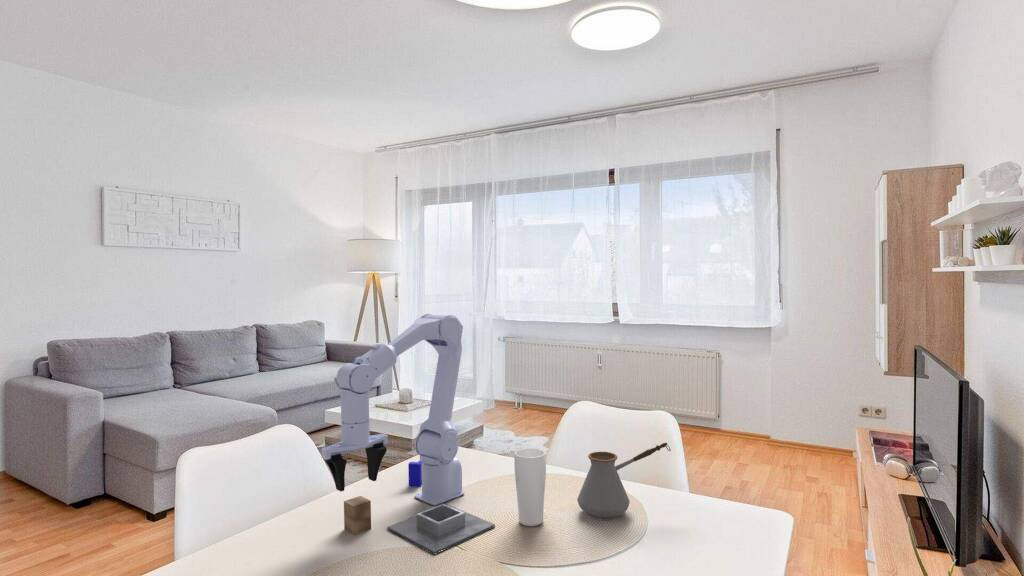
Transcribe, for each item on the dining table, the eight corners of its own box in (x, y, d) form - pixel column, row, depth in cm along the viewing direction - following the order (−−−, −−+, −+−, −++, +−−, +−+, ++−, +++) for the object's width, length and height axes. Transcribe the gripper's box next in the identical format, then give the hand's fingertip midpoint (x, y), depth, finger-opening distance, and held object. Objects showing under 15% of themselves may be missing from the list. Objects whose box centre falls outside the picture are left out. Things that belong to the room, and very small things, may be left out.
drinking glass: (551, 518, 121) (550, 449, 121) (539, 531, 115) (538, 459, 115) (523, 513, 124) (521, 446, 124) (510, 525, 118) (509, 455, 118)
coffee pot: (585, 526, 117) (584, 455, 117) (572, 504, 128) (571, 440, 128) (681, 519, 120) (680, 450, 120) (660, 498, 131) (659, 435, 131)
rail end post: (361, 523, 120) (360, 495, 120) (371, 528, 117) (370, 500, 117) (344, 529, 117) (343, 501, 117) (354, 535, 115) (353, 506, 114)
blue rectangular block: (420, 470, 153) (419, 449, 153) (435, 471, 153) (435, 450, 153) (403, 486, 142) (402, 463, 142) (419, 487, 141) (419, 464, 141)
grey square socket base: (446, 506, 128) (446, 492, 128) (494, 527, 117) (494, 512, 117) (387, 529, 117) (387, 514, 117) (434, 554, 106) (434, 538, 106)
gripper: (374, 411, 125) (376, 471, 125) (313, 424, 115) (315, 489, 115) (392, 416, 120) (394, 478, 120) (330, 430, 110) (332, 498, 110)
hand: (356, 484), depth 117 cm, fingers open, 7 cm apart
